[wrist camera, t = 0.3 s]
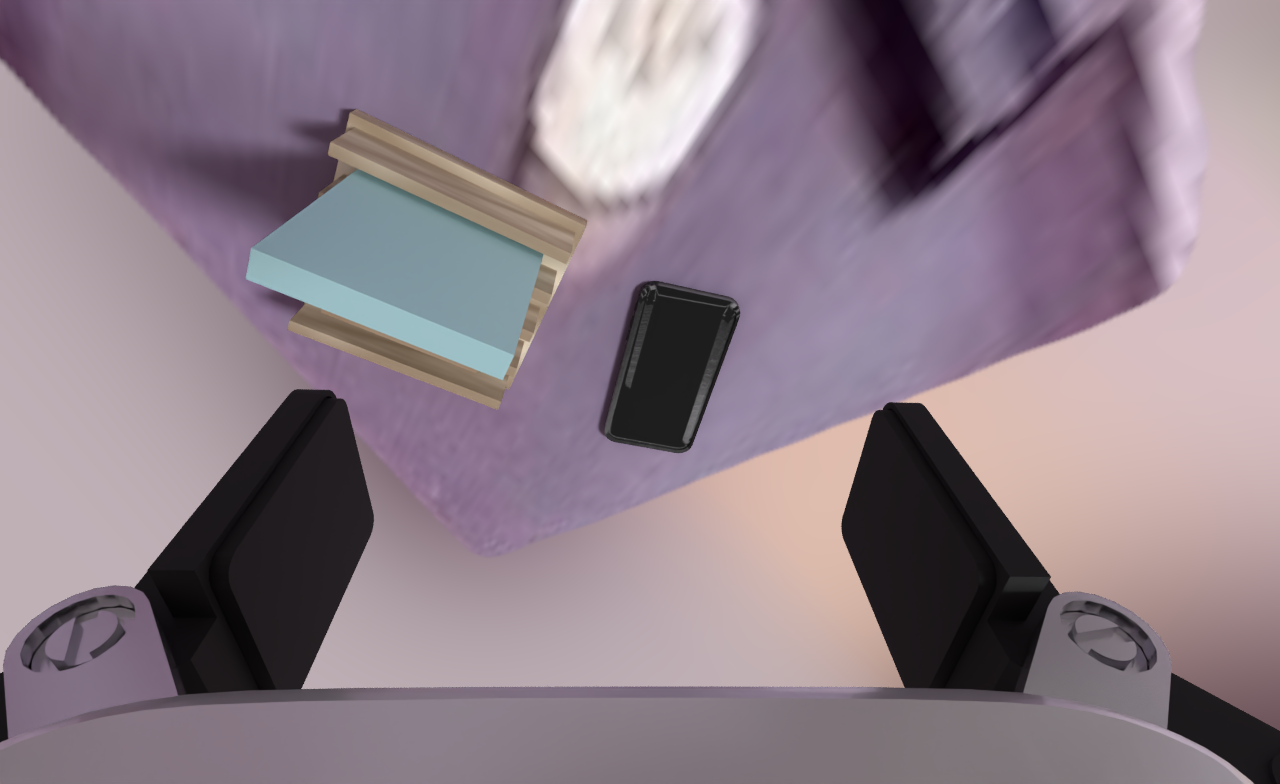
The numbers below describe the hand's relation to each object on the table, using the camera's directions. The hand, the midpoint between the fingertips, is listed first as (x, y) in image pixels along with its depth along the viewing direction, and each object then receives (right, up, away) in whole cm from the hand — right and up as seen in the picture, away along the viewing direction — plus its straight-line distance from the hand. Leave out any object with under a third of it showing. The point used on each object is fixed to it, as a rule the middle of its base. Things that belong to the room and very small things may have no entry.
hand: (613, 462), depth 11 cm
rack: (-14, +11, +34) cm, 39 cm away
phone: (+3, +3, +40) cm, 41 cm away
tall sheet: (-12, +14, +31) cm, 36 cm away
